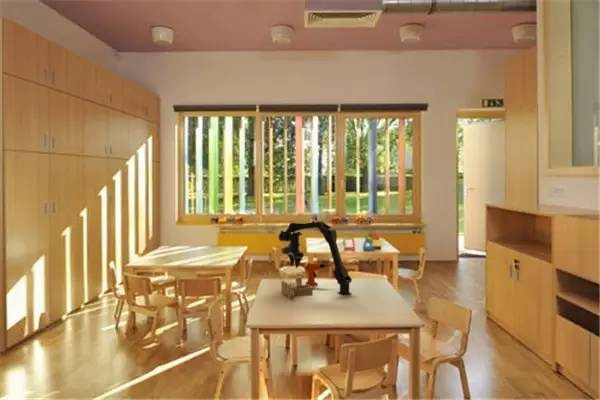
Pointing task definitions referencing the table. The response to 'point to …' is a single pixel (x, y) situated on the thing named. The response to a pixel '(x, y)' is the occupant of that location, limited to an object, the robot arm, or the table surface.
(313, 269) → the toy drill
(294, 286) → the tan rectangular block
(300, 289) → the tan wooden t-shaped piece
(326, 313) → the table surface
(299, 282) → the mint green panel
